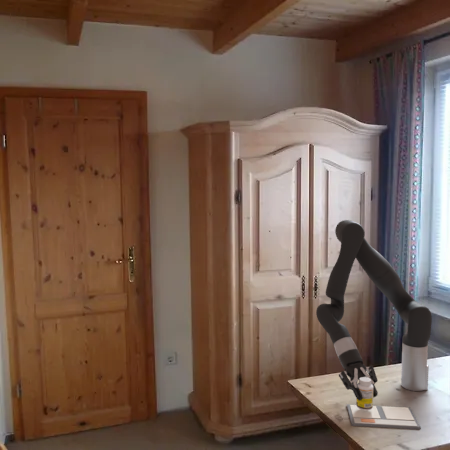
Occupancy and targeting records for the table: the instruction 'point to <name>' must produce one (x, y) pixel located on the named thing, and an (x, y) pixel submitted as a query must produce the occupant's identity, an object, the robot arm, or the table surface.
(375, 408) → the board
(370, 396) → the supplement bottle
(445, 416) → the table surface
